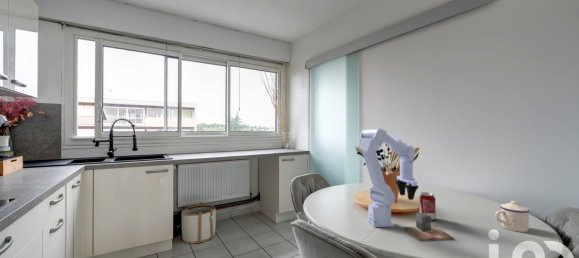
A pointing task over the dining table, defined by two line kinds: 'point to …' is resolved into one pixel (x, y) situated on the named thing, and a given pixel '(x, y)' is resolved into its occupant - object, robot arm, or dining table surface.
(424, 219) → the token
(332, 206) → the dining table surface
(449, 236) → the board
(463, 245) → the dining table surface
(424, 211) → the soda can
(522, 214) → the teacup with lid
